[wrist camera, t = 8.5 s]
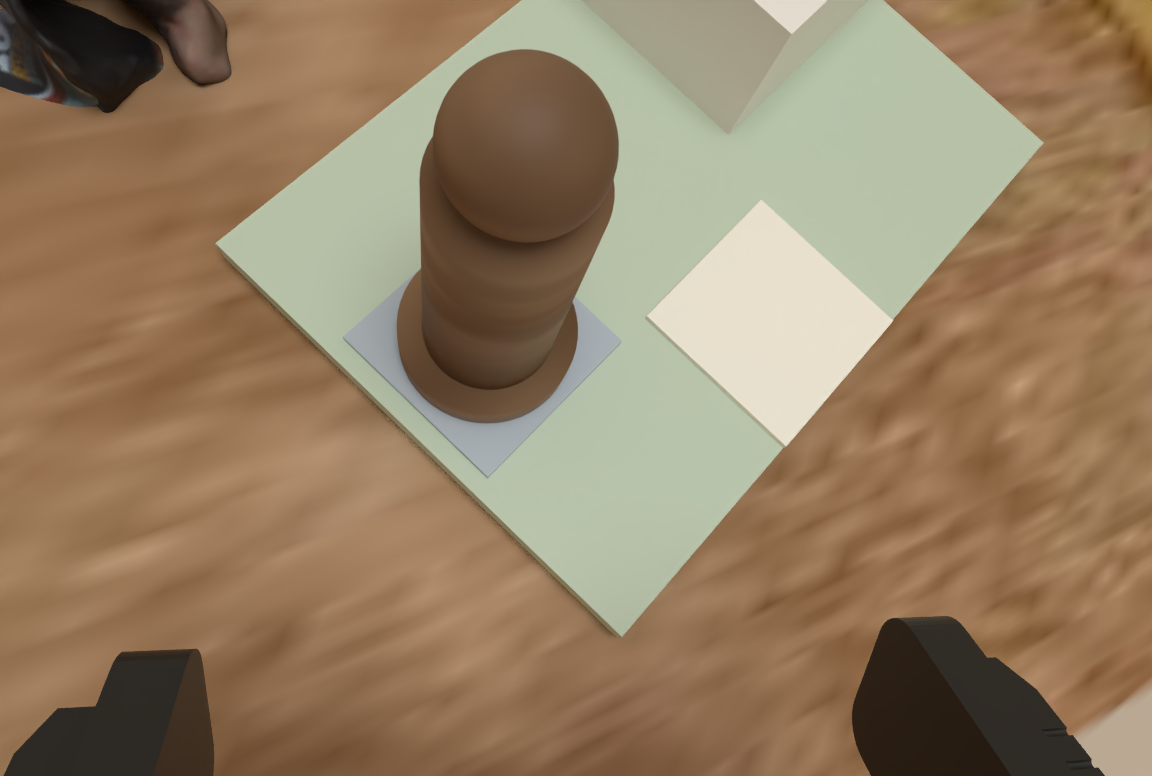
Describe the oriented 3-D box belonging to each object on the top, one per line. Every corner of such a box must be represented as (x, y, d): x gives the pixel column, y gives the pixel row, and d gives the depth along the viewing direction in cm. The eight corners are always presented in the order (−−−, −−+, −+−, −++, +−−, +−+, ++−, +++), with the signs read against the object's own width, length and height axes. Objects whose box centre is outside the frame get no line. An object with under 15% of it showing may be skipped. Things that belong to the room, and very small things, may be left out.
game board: (222, 256, 22) (213, 240, 21) (704, -131, 28) (714, -157, 27) (615, 636, 21) (623, 637, 21) (1026, 155, 27) (1047, 139, 26)
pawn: (360, 336, 21) (298, 79, 11) (484, 226, 23) (531, -95, 12) (487, 459, 21) (544, 312, 11) (605, 340, 22) (756, 108, 12)
